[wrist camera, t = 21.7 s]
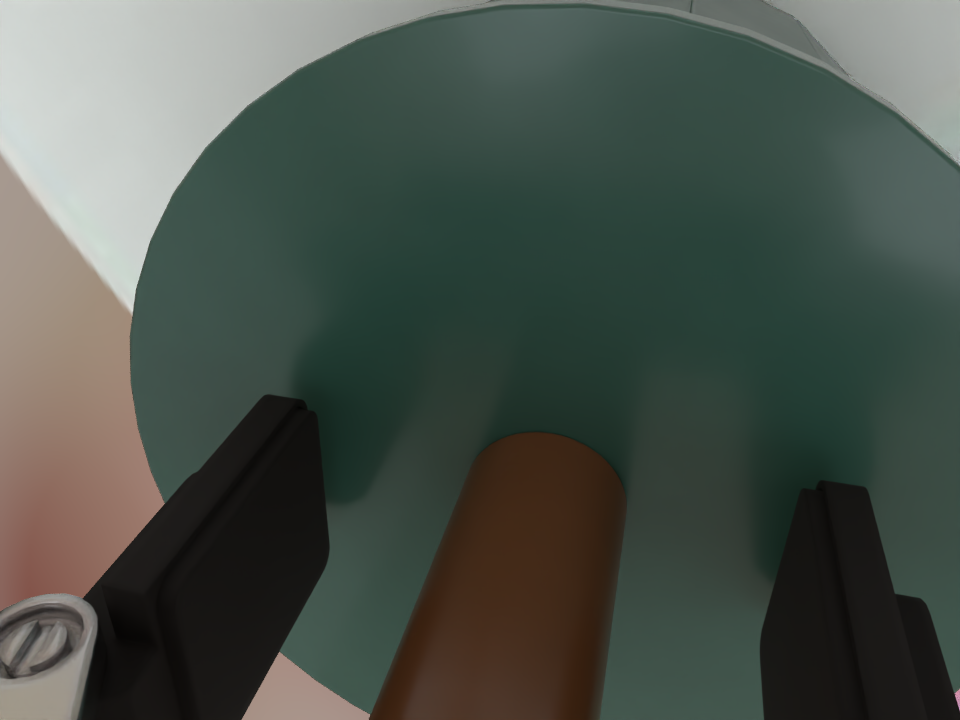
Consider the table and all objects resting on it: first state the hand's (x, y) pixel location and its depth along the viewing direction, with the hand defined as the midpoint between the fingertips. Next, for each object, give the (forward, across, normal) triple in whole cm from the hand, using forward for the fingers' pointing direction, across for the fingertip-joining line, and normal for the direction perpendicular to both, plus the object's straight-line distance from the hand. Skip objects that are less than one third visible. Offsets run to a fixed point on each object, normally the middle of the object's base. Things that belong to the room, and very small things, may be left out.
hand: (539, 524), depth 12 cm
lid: (+1, 0, 0) cm, 1 cm away
